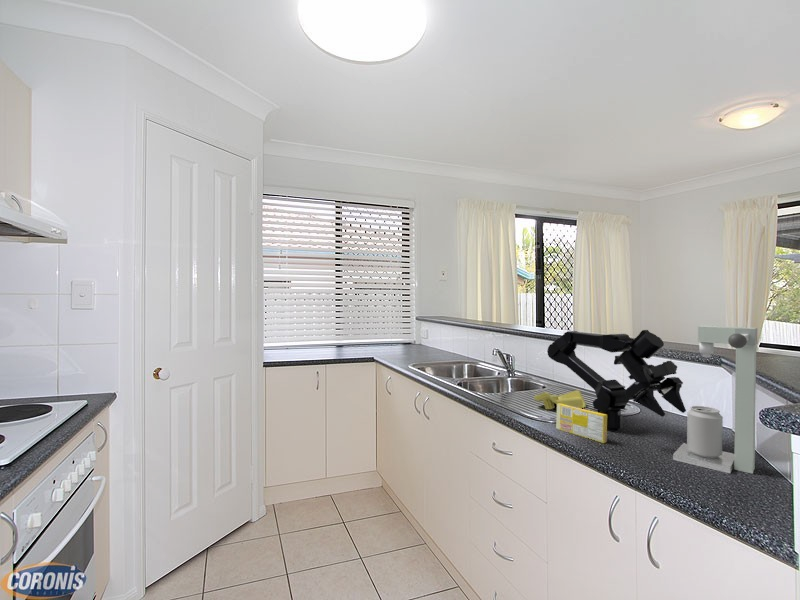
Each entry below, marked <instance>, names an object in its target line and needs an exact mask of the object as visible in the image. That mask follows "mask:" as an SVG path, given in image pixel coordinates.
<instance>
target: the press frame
mask: <svg viewBox="0 0 800 600" xmlns="http://www.w3.org/2000/svg"><path fill="white" fill-rule="evenodd" d="M697 342H698V343H699V344H698V345H699V346H698V347H699V348H698V350H699V354H701V357H703V358H711V357H712V355H714V350H715V349H714V347H715V344H724V345H725V344H726V345H727V344H729V346H731V347H732V348H734V349H735V373H734V374H735V377H734V378H735V379H734V380H735V390H734V392H735V393H734V394H735V395H734V397H735V398H734V451H733V452H734V453H733V454H734V467H733V470H735V471H739V472H744V473H748V474H752V475H753V474H754V471H755V464H756V400H757V399H756V398H757V397H756V396H757V395H756V393H757V392H756V390H757V389H756V388H757V387H756V386H757V385H756V383H757V382H756V381H757V345H758V327H743V326H741V327H740V326H720V325H717V326H714V325H698V326H697Z"/></svg>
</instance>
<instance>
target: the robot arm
mask: <svg viewBox="0 0 800 600" xmlns="http://www.w3.org/2000/svg"><path fill="white" fill-rule="evenodd" d="M578 344H581V345H588V346H594V347H598V348H600V349H602V350H604V351H606V352H609V353H620V354H619V355H615V356H614V361H613V364H614V365H616V366H617V365H623V367H624V369H625V370H626V371H627V372H628V374H629V376H628V378H629V379H630V380H631V381H632V380H634V382H633V383H631V384H630V385H629V386H628V387H627V388H626V386H625V385H622V384H621V383H620V382H619V381H618V380H617V379H608V380H606V379H605V378H604V377H603V376H602V375H600V374H599V373H597V372H596V371H595V370H594V369H593V368H592V367H590V366H589V365H588V364H586V363H585V362H584V361H583V360H582V359H580V358H579V357H578V356H577V354H576V351H575V350H576V349H577V346H578ZM664 346H665V342H664V341H663V339H662V338H661V337H659V336H658V335H656V334H654V333H652V332H650V331H649V329H642V330H641V331H640V332H639V334H638V335H637V336H635V338H632V337H630V335H629V334H626V333H612V334H611V333H610V334H598V333H590V332H580V331H578V330H571V331H570V330H569V331H566V332H564V333H563V335H562V336H560V337H558V338H557V339H555V340H554V341H553V342H552V343H551V344H549V345H548V347H547V356H548V357H549V358H550V359H551V360H553V361H554V362H556V363H558V364H562V365H564V366H565V367H567V368H569V369H570V371H572V372H573V373H574V374H575V375H576V376H578V377H579V378H580V379H581V380H582V381H584V382H585V383H586V384H587V385H588V386H589V387H590V388H592V389H593V390H594V391H595V395H596V398H595V399H594V400H593V401H592V404H593V408H594V410H596V412H598V413H602V414H606V415H607V431H610V432H614V433H617V432H619V431H621V430H622V429H623V428H624V426H623V425H624V415H623V414H622V410H625V408H626V406H627V405H628V403H629V402H630V401H632V402H634V403H637V404H639V405H641V406H643V407H645V408H647V409H648V410H650V411H652V412H653V413H655V414H657V415H658V416H660V417H664V416H665V415H666V413H665V411H664V409H663V408H662V406H661V404H660V403H659V402H658V400H657V398H656V397H655V395H654V392H655V391H657V392H658V394H660V395H661V398H663V399H664V401H666V402H668V403H669V404H670V405H672V406H673V407H674V408H676V409H677V410H678V411H679V412H681V413H682V414H684V413H686V412H687V409H686V406H685V404H684V402H683V400H682V396H681V393H680V390H681V388H682V385H684V382H683V381H682V379H680V377H676V376H670V375H676V374H677V370H678V366H677V365H676V364H675V362H673V361H672V360H666V361H663V362H662V363H661V364H657V365H654V364H648V362H647V361H646V360H645V359H648V360H649V359H651V358H652V357H653V356H654V355H655V354H656V353H657V352H658V351H660V350H661V349H662V348H664ZM666 376H669V377H666Z"/></svg>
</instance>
